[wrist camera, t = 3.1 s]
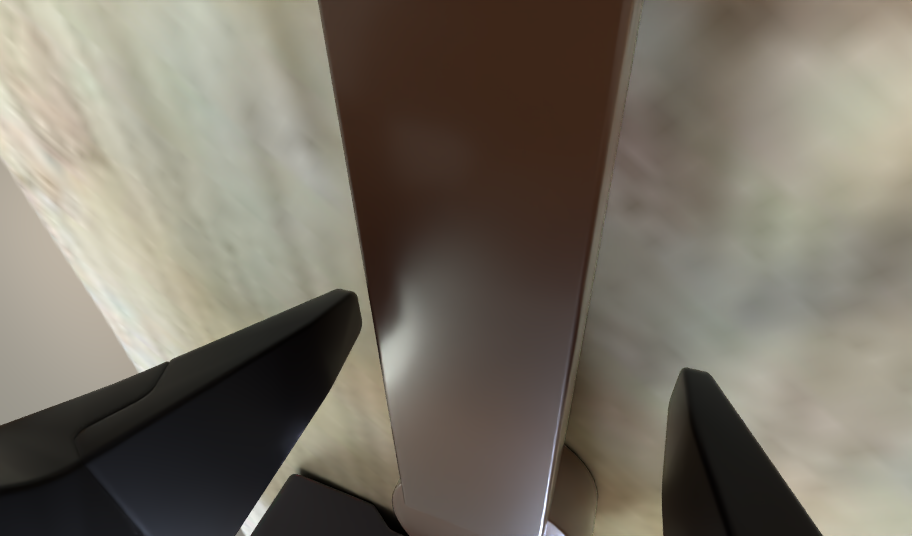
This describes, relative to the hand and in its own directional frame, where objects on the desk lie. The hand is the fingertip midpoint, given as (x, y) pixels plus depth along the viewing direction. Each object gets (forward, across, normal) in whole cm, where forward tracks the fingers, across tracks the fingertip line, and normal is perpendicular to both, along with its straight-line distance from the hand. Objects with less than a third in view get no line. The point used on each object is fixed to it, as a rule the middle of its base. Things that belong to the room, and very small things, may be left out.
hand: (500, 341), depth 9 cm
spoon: (+1, 0, 0) cm, 1 cm away
